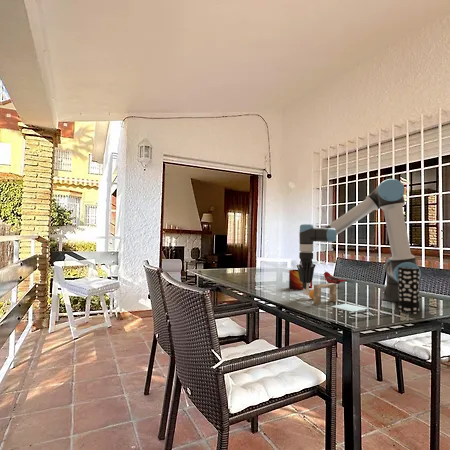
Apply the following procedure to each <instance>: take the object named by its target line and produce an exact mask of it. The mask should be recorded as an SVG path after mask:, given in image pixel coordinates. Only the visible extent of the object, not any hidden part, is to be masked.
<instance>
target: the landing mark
mask: <svg viewBox="0 0 450 450" xmlns="http://www.w3.org/2000/svg"><path fill="white" fill-rule="evenodd" d="M331 307H332V308H335V309H339V310H342V311H347V312H352V313H356V312H360V311H366V310H368V308H367V307H362V306H357V305H354V304H349V303H343V304H342V303H341V304H337V305H331V306H330V308H331Z"/></svg>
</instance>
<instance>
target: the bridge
mask: <svg viewBox="0 0 450 450" xmlns="http://www.w3.org/2000/svg"><path fill="white" fill-rule="evenodd" d="M337 287H338V284H334V283H328V282H327V283H322V284H321V283H319V284H313V289H314V300H313V304H315V305H321V303H322V288H323V289H324V288H329V291H328V292H329V293H328V295H329V300H328V301H330V302H335V303H336V302H337V301H338V299H337V293H338V291H337Z"/></svg>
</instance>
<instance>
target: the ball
mask: <svg viewBox="0 0 450 450" xmlns="http://www.w3.org/2000/svg"><path fill="white" fill-rule="evenodd" d="M308 297H309V298H310V299H311V300H313V301H314V288H312V289H311V290H310V289H309V295H308Z"/></svg>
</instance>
